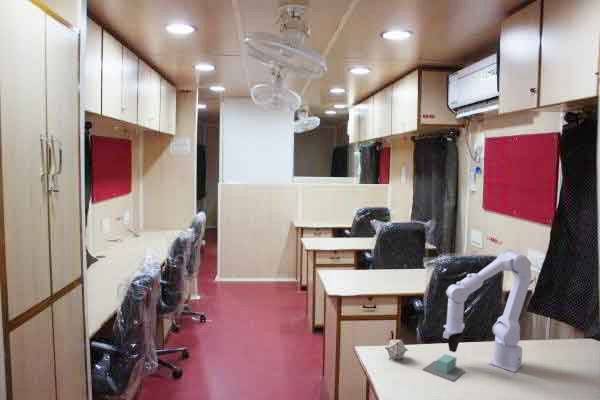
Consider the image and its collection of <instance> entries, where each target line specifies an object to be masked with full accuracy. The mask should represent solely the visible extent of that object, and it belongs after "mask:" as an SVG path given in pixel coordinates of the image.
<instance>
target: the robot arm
mask: <svg viewBox="0 0 600 400" xmlns="http://www.w3.org/2000/svg"><path fill="white" fill-rule="evenodd" d="M531 267H532V262H531V261H530V259H529V258H528V257H527V256H526V255H523V254H521V253H519V252H516V251H514V250H512V249H507V250H505V251H503V252H502V253H500V254H499V255H498V256H497V258H496V259H494V260H493V261H492V262H491V263H489V264H488V265H487V266H485V267H484V268H482V269H481V270H480V271H479V272H478V273H468V274H466V277H464V278H463V279H461V280H460V281H456V284H455V283H454V284H453V283H452V284H450V285H449V286H448V287H447V289H446V290H445V294H446V297H448V299H447V313H446V324H444V325H443V328H445V329H444V331H443V333H442V338H444V339H446V341H447V344H448V349H449V352H452V353H456V352H457V350H458V346H459V343H460V341H461V339H462V338H463V337H464V333H463V331H464V329H465V325H466V324H465V323H464V310H465V302H466V301H467V299H468V297H469V296H470V295H471V294H473V293H474V292H475V291H477V290H478V289H480V288H481V287H482V286H483V283H484V281H487V280H488V279H489V278H491V277H493V276H494V275H496V274H498V273H500V272H501V271H506V272H511V273H512V275H513V276H514V279H513V282H512V285H511V288H510V291H509V294H508V297H507V301H506V304H505V307H504V310H503V313H502V315H501V316H499V317H498V318H497V321H496V322H495V323H494V324H493V326H492V333H493V335H494V349H493V350H494V351H493V359H492V360H491V361H489V365H491V366H492V365H493V366H495V367H496V368H497V367H498V368H500V369H504V370H506V371H510V372H513V373H516V372H517V371H518V370H519V369H520V368H521V367H522V365H523V364H522V361H523V360H522V359H523V347H522V346H520V345H518V344H519V342H520V340H521V333H520V332H521V327H520V322H519V318H520V315H521V313H522V309H523V306H524V303H525V300H526V297H527V293H528V290H529V287H530V285H531V281H532V278H533V277H532V270H531Z"/></svg>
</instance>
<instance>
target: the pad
mask: <svg viewBox="0 0 600 400" xmlns="http://www.w3.org/2000/svg"><path fill="white" fill-rule="evenodd" d="M436 367H437V360H433V361H432V362H431V363H430V364H428V365H426V366H425V367H424V368H422V371H424V372H426V373H430V374H431V375H434V376H437V377H440V378H442V379H445V380H448V381H450V382H454V381H456V380H457V379H459V378H460V377H461V376H462V375H464V374H465V373H466V370H462V369H460V368H457V367H455V368H454V369H452V370H451V371H449V372H448V373H447V374H446V373H443V372H441V371H438V370H436Z"/></svg>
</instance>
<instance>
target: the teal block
mask: <svg viewBox="0 0 600 400" xmlns="http://www.w3.org/2000/svg"><path fill="white" fill-rule="evenodd" d="M457 358H458V357H457V355H456V356H455V355H453V354H451V353H444V354H443V355H442V356H440V357H439V358H437V359H436V361H437V367H436V370H438V371H441V372H443V373H446V374H447V373H448V372H449V371H451V370H452V369H454V368H457Z"/></svg>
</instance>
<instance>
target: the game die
mask: <svg viewBox="0 0 600 400" xmlns="http://www.w3.org/2000/svg"><path fill="white" fill-rule="evenodd" d="M403 340H404V338H403V337H402V338H401V339H394V338H391V337H389V342H388V343H387V345H386V346H385V347H384V349H385V350H386V351H387V353H388V356H389V358H388V360H391V359H396V360H397V359H398V360H399V359H400V360H401V361H402V362H403V361H404V359H403V357H404V356H405V353H406V352H407V351H409V349H407V348H406V346H405V343H404V342H403Z"/></svg>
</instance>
